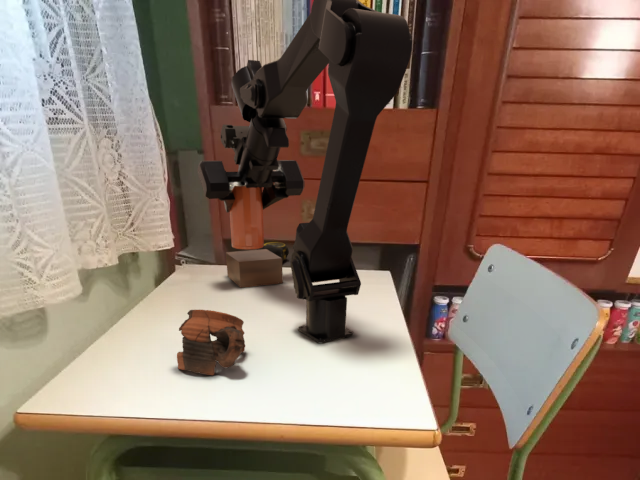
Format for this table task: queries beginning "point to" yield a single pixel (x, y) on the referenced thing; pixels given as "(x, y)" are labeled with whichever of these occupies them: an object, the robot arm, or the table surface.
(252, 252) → the block
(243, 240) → the tumbler
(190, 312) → the pottery mug
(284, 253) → the tape measure
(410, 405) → the table surface
